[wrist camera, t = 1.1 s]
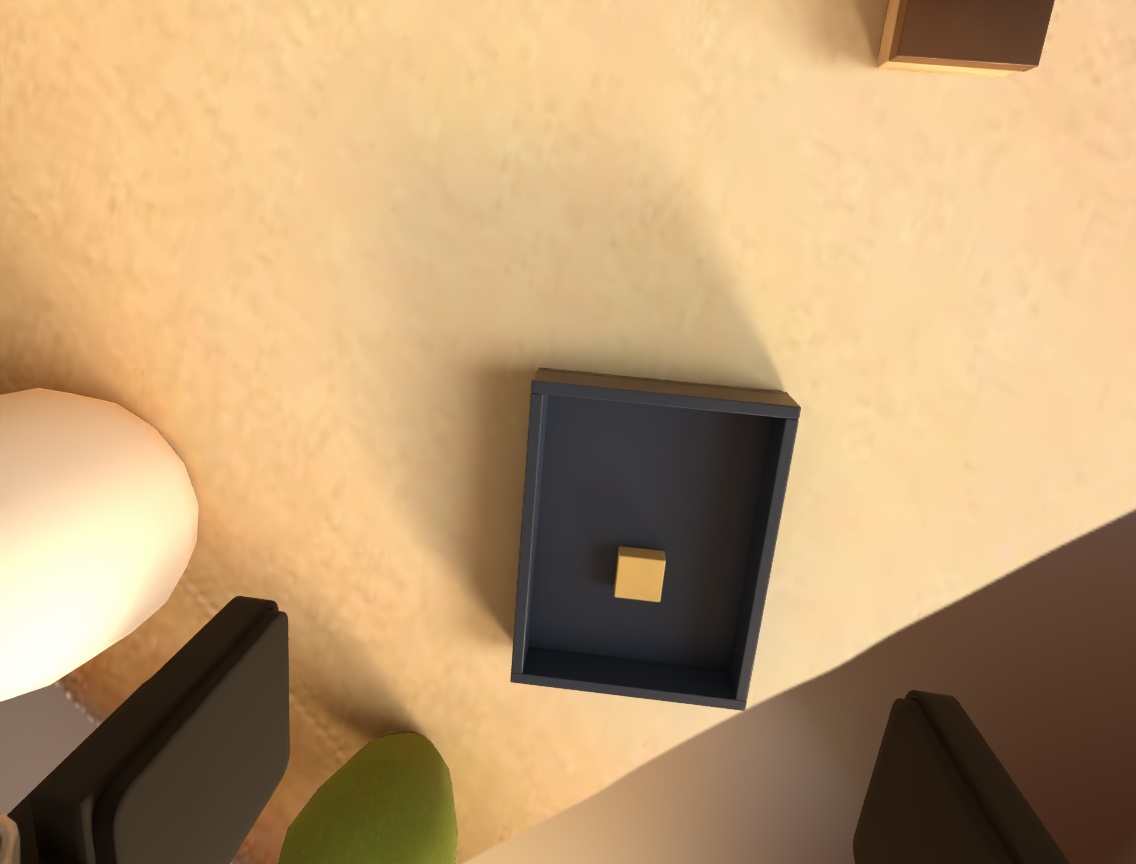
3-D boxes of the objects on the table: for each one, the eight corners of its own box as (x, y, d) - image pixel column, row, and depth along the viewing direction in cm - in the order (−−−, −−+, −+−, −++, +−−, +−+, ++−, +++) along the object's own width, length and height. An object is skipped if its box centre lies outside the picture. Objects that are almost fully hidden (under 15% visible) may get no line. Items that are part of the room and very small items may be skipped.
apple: (356, 809, 44) (265, 1006, 33) (330, 694, 42) (223, 863, 30) (493, 807, 43) (446, 1009, 32) (474, 689, 41) (417, 862, 30)
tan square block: (618, 545, 37) (618, 555, 36) (664, 550, 37) (665, 560, 36) (613, 586, 38) (613, 597, 36) (659, 591, 37) (660, 603, 36)
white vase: (142, 637, 41) (-76, 823, 29) (-43, 482, 39) (-367, 607, 27) (279, 495, 38) (102, 633, 25) (84, 318, 36) (-217, 370, 23)
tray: (539, 367, 35) (531, 380, 32) (786, 391, 34) (801, 406, 31) (518, 649, 40) (510, 682, 37) (736, 675, 39) (745, 711, 36)
